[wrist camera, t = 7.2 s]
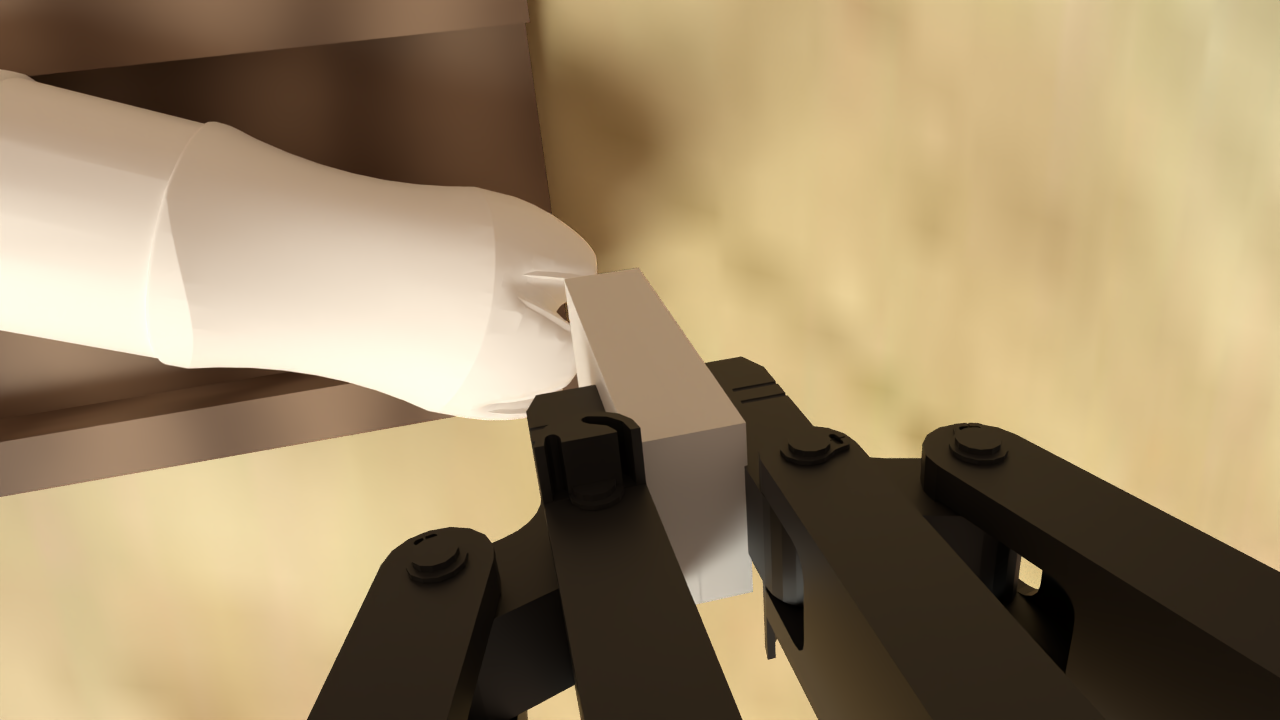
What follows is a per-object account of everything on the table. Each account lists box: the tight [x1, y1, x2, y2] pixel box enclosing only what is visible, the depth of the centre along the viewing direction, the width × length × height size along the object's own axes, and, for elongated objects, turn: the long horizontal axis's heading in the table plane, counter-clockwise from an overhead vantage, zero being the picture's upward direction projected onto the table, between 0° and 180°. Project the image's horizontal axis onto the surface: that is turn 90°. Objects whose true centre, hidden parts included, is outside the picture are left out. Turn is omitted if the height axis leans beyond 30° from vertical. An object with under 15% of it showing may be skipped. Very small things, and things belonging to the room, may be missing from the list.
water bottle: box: [0, 69, 597, 420], centre depth 24 cm, size 7×7×25 cm
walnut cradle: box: [0, 0, 579, 497], centre depth 27 cm, size 24×15×3 cm, turn 95°
